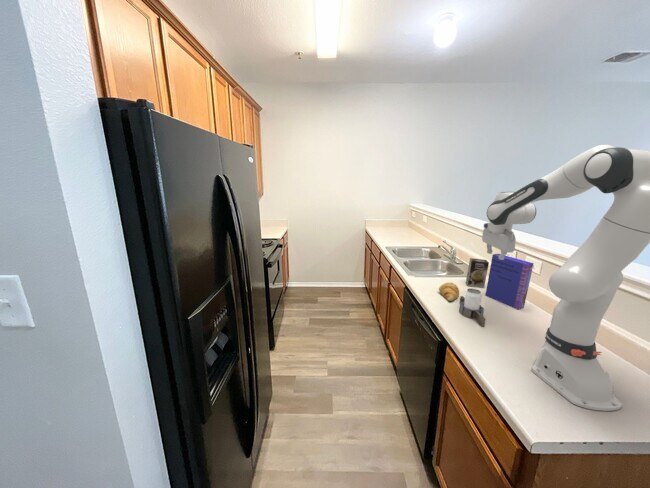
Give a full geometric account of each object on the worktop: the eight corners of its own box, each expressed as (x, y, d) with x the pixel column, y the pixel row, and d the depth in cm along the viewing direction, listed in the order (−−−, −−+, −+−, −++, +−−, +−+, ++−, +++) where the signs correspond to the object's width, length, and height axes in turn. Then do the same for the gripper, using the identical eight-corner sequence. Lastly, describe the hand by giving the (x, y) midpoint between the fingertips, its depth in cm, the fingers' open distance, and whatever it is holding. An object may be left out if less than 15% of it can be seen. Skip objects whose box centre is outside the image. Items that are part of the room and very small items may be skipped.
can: (463, 316, 128) (467, 292, 125) (462, 309, 134) (465, 287, 131) (479, 318, 126) (483, 294, 123) (476, 312, 131) (480, 289, 129)
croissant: (455, 309, 141) (465, 298, 138) (438, 298, 143) (447, 287, 140) (451, 292, 160) (460, 282, 157) (436, 283, 162) (444, 273, 159)
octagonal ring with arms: (493, 327, 119) (495, 319, 118) (471, 326, 119) (473, 318, 118) (475, 309, 134) (477, 302, 133) (456, 308, 135) (457, 301, 134)
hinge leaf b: (485, 319, 125) (487, 311, 124) (464, 318, 126) (466, 310, 125) (469, 303, 140) (471, 296, 139) (451, 302, 141) (452, 295, 140)
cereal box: (523, 308, 137) (533, 262, 131) (517, 309, 135) (527, 264, 129) (491, 294, 152) (498, 253, 146) (485, 295, 150) (492, 254, 144)
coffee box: (467, 286, 162) (471, 260, 158) (465, 282, 168) (469, 257, 164) (484, 288, 160) (489, 262, 156) (481, 284, 166) (486, 259, 161)
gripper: (522, 232, 114) (516, 263, 117) (494, 223, 134) (489, 250, 137) (507, 232, 114) (501, 263, 117) (481, 223, 134) (477, 250, 137)
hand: (494, 256), depth 127 cm, fingers open, 8 cm apart
